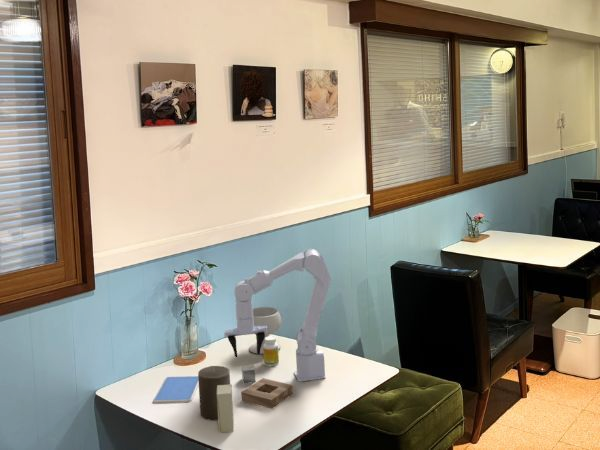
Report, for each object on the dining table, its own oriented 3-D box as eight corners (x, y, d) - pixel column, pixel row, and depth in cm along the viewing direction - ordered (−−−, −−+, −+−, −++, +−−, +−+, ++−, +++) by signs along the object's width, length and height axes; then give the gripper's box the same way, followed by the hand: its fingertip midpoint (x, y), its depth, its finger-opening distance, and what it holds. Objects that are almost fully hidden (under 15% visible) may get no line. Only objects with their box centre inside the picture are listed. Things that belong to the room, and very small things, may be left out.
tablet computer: (166, 379, 231) (166, 376, 231) (201, 378, 231) (201, 375, 231) (152, 404, 212) (152, 400, 212) (191, 403, 212) (191, 399, 212)
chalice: (290, 347, 255) (288, 310, 252) (264, 358, 245) (261, 320, 242) (265, 339, 264) (263, 303, 261) (239, 350, 254) (236, 313, 251)
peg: (253, 377, 229) (253, 364, 228) (255, 382, 225) (254, 369, 224) (242, 378, 228) (241, 366, 227) (243, 383, 224) (243, 370, 223)
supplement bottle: (277, 366, 237) (275, 341, 235) (262, 366, 238) (261, 340, 236) (280, 360, 242) (279, 335, 240) (266, 360, 243) (264, 335, 241)
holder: (263, 386, 221) (262, 378, 220) (293, 393, 214) (292, 385, 214) (241, 400, 211) (241, 392, 210) (272, 408, 205) (271, 399, 204)
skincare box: (219, 422, 197) (216, 384, 195) (234, 421, 198) (231, 383, 195) (218, 433, 191) (215, 394, 189) (234, 431, 191) (231, 392, 189)
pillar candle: (205, 423, 197) (202, 376, 194) (196, 410, 206) (194, 364, 203) (236, 416, 201) (234, 370, 198) (226, 403, 210) (224, 359, 207)
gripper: (264, 310, 227) (266, 348, 230) (222, 315, 224) (224, 353, 227) (267, 317, 221) (269, 355, 223) (224, 322, 218) (227, 360, 220)
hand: (247, 354), depth 225 cm, fingers open, 7 cm apart
